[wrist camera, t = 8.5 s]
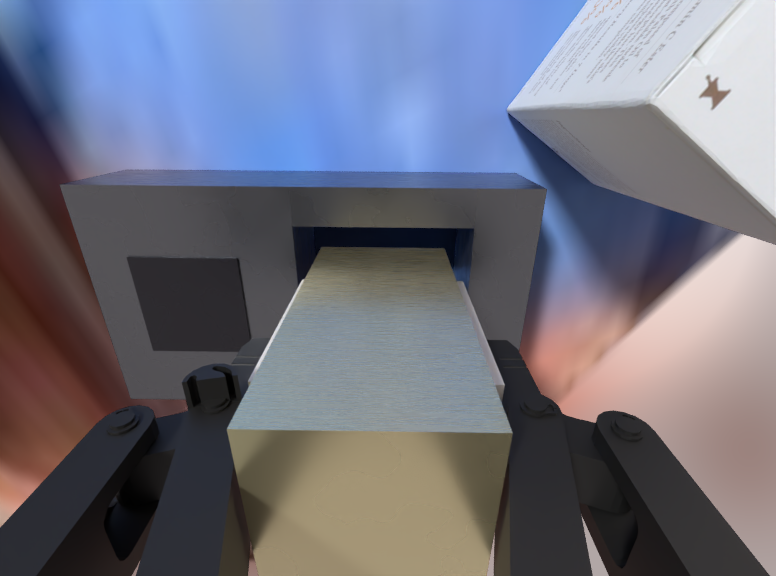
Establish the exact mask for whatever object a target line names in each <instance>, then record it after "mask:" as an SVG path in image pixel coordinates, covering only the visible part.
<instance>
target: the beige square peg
mask: <svg viewBox="0 0 776 576" xmlns="http://www.w3.org/2000/svg"><path fill="white" fill-rule="evenodd" d="M227 433H228V437H229V442H230V447H231V451H232V456H233V461H234V465H235V470H236V474H237V479H238V484H239V488H240V493H241V498H242V502H243V507H244V511H245V516H246V521H247V525H248V530H249V535H250V539H251V544H252V548H253V553H254V558H255V562H256V567H257V571H258V576H487V570H488V565H489V559H490V554H491V548H492V543H493V538H494V532H495V527H496V521H497V516H498V511H499V505H500V500H501V494H502V489H503V483H504V478H505V472H506V467H507V462H508V456H509V451H510V445H511V440H512V434H513V433H512V430H511V427H510V424H509V422H508V419H507V416H506V414H505V411H504V408H503V405H502V403H501V400H500V397H499V395H498V392H497V389H496V387H495V384H494V381H493V378H492V376H491V373H490V370H489V368H488V365H487V362H486V359H485V357H484V354H483V351H482V349H481V346H480V343H479V341H478V338H477V335H476V332H475V330H474V327H473V324H472V322H471V319H470V316H469V314H468V311H467V308H466V305H465V303H464V300H463V297H462V295H461V292H460V289H459V286H458V284H457V281H456V278H455V276H454V273H453V270H452V268H451V265H450V262H449V259H448V257H447V254H446V251H445V249H444V248H383V247H321V249H320V251H319V253H318V255H317V257H316V258H315V260H314V262H313V264H312V266H311V268H310V270H309V272H308V274H307V276H306V278H305V280H304V282H303V283H302V285H301V287H300V289H299V291H298V293H297V295H296V297H295V299H294V301H293V303H292V305H291V307H290V308H289V310H288V312H287V314H286V316H285V318H284V320H283V322H282V324H281V326H280V328H279V330H278V332H277V333H276V335H275V337H274V339H273V341H272V343H271V345H270V347H269V349H268V351H267V353H266V355H265V357H264V358H263V360H262V362H261V364H260V366H259V368H258V370H257V372H256V374H255V376H254V378H253V380H252V382H251V383H250V385H249V387H248V389H247V391H246V393H245V395H244V397H243V399H242V401H241V403H240V405H239V407H238V408H237V410H236V412H235V414H234V416H233V418H232V420H231V422H230V424H229V426H228V428H227Z"/></svg>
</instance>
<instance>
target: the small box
mask: <svg viewBox="0 0 776 576" xmlns="http://www.w3.org/2000/svg"><path fill="white" fill-rule="evenodd" d="M507 112H508V113H509V114H510V115H512V116H513V117H514V118H515V119H517V120H518V121H519V122H520V123H521V124H523V125H524V126H525V127H526V128H527V129H528V130H530V131H531V132H532V133H533V134H534V135H536V136H537V137H538V138H539V139H540V140H542V141H543V142H544V143H545V144H546V145H547V146H549V147H550V148H551V149H552V150H553V151H554V152H556V153H557V154H558V155H559V156H560V157H562V158H563V159H564V160H565V161H566V162H567V163H569V164H570V165H571V166H572V167H573V168H575V169H576V170H577V171H578V172H579V173H581V174H582V175H583V176H584V177H585V178H587V179H588V180H589V181H590V182H591V183H593V184H594V185H597V186H600V187H603V188H606V189H609V190H612V191H615V192H618V193H621V194H624V195H627V196H630V197H633V198H636V199H639V200H642V201H645V202H648V203H651V204H654V205H657V206H660V207H663V208H666V209H669V210H672V211H675V212H678V213H682V214H685V215H688V216H690V217H693V218H697V219H700V220H703V221H706V222H709V223H712V224H714V225H717V226H720V227H723V228H726V229H729V230H732V231H735V232H738V233H741V234H744V235H747V236H750V237H754V238H757V239H760V240H763V241H766V242H769V243H772V244H775V245H776V0H588V1H587V2H586V4H585V5H584V7H583V8H582V9H581V11H580V12H579V13H578V15H577V16H576V17H575V19H574V20H573V21H572V23H571V24H570V25H569V27H568V28H567V29H566V31H565V32H564V33H563V35H562V36H561V37H560V39H559V40H558V41H557V43H556V44H555V45H554V47H553V48H552V49H551V51H550V52H549V53H548V55H547V56H546V57H545V59H544V60H543V62H542V63H541V64H540V66H539V67H538V68H537V70H536V71H535V72H534V74H533V75H532V76H531V78H530V79H529V80H528V82H527V83H526V84H525V86H524V87H523V88H522V90H521V91H520V92H519V94H518V95H517V96H516V97H515V99H514V100H513V101H512V103H511V104H510V105H509V106H508V108H507Z"/></svg>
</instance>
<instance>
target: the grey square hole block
mask: <svg viewBox="0 0 776 576" xmlns="http://www.w3.org/2000/svg"><path fill="white" fill-rule="evenodd" d="M60 188H61V191H62V194H63V197H64V200H65V203H66V206H67V209H68V212H69V215H70V218H71V221H72V224H73V227H74V230H75V233H76V236H77V239H78V242H79V245H80V248H81V251H82V254H83V257H84V260H85V263H86V266H87V269H88V272H89V275H90V278H91V281H92V284H93V287H94V290H95V293H96V296H97V299H98V302H99V305H100V308H101V311H102V314H103V317H104V320H105V323H106V326H107V329H108V332H109V335H110V338H111V341H112V344H113V347H114V350H115V353H116V356H117V359H118V362H119V365H120V368H121V371H122V374H123V377H124V380H125V383H126V386H127V389H128V392H129V395H130V397H131V399H184V400H186V398H185V394H184V390H183V386H182V381H183V380H184V378H185V377H186V376H187V375H188V374H189V373H191V372H192V371H193V370H196V369H198V368H200V367H202V366H206V365H210V364H223V363H224V364H228V365H231V363H232V362H233V360H234V358H236V355H237V354H238V352H239V351H240V349H241V347H242V346H243V345H245V344H246V343H247V342H249V341H250V340H251V339H253V338H271V337H272V335H273V333H274V331H275V330H276V328H277V326H278V324H279V322H280V320H281V318H282V316H283V315H284V313H285V311H286V309H287V307H288V305H289V303H290V302H291V300H292V298H293V296H294V294H295V292H296V290H297V288H298V287H299V285H300V283H301V281H302V279H304V280H305V278H306V276H307V274H308V272H309V270H310V268H311V266H312V264H313V262H314V260H315V258H316V253H315V239H314V227H390V228H457V233H456V245H455V257H454V269H453V273H454V276H455V278H456V281H463V283H464V285H465V288H466V290H467V293H468V295H469V298H470V300H471V303H472V305H473V308H474V310H475V313H476V315H477V318H478V320H479V322H480V325H481V327H482V330H483V332H484V335H485V337H486V340H507V341H509V342H510V343H511V344H512V345H514V346H515V347H516V348H517V349H518V351H519V349H520V343H521V337H522V331H523V325H524V320H525V314H526V308H527V302H528V296H529V291H530V285H531V279H532V273H533V267H534V262H535V256H536V250H537V244H538V238H539V233H540V227H541V221H542V215H543V210H544V204H545V198H546V192H547V189H546V188H544V187H542V186H540V185H538V184H536V183H534V182H532V181H530V180H528V179H526V178H524V177H522V176H520V175H518V174H517V173H439V172H329V171H219V170H123V171H118V172H114V173H109V174H105V175H100V176H96V177H91V178H87V179H82V180H78V181H73V182H69V183H64V184H60Z"/></svg>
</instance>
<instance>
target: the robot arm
mask: <svg viewBox="0 0 776 576" xmlns="http://www.w3.org/2000/svg"><path fill="white" fill-rule="evenodd" d="M303 282H304V279H302V281H301V283H300V285H299V287H298V288H297V290H296V292H295V294H294V296H293V298H292V300H291V302H290V303H289V305H288V307H287V309H286V311H285V313H284V315H283V316H282V318H281V320H280V322H279V324H278V326H277V328H276V330H275V331H274V333H273V335H272V337H271V338H253V339H251V340H250V341H249V342H247V343H246V344H245V345H243V346H242V347H241V349H240V351H239V352H238V354H237V355H236V358H234V360H233V362H232V363H231V365H228V364H224V363H223V364H210V365H206V366H202V367H200V368H198V369H196V370H193V371H192V372H191V373H189V374H188V375H187V376H186V377H185V378H184V380H183V381H182V386H183V390H184V394H185V398H186V402H187V405H188V411H186V412H183V413H179V414H174V415H170V416H165V417H160V418H155V415H154V412H153V410H152V409H150V408H149V407H146V406H140V405H138V406H129V407H126V408H123V409H120V410H116V411H115V412H113V413H111V414H109V415H107V416H105V417H104V418H103V419H102V420H101V421H99V422H98V423H97V424H96V425H95V426H94V427H93V428H92V429H91V430H90V431H89V433H88V434H87V435H86V436H85V437H84V438H83V439H82V440H81V441H80V442H79V443H78V444H77V445H76V447H75V448H74V449H73V450H72V451H71V452H70V453H69V454H68V455H67V456H66V457H65V458H64V460H63V461H62V462H61V463H60V464H59V465H58V466H57V467H56V468H55V469H54V470H53V471H52V472H51V474H50V475H49V476H48V477H47V478H46V479H45V480H44V481H43V482H42V483H41V484H40V485H39V487H38V488H37V489H36V490H35V491H34V492H33V493H32V494H31V495H30V496H29V497H28V498H27V499H26V501H25V502H24V503H23V504H22V505H21V506H20V507H19V508H18V509H17V510H16V511H15V512H14V514H13V515H12V516H11V517H10V518H9V519H8V520H7V521H6V522H5V523H4V524H3V525H2V526H1V528H0V576H132V574H133V572H134V570H135V569H136V567H137V565H138V563H139V561H140V560H141V561H140V564H139V567H138V570H137V574H136V576H248V568H249V554H250V541H251V539H250V535H249V530H248V525H247V521H246V516H245V511H244V507H243V502H242V498H241V493H240V488H239V484H238V479H237V474H236V470H235V465H234V461H233V456H232V451H231V447H230V442H229V437H228V433H227V428H228V426H229V424H230V422H231V420H232V418H233V416H234V414H235V412H236V410H237V408H238V407H239V405H240V403H241V401H242V399H243V397H244V395H245V393H246V391H247V389H248V387H249V385H250V383H251V382H252V380H253V378H254V376H255V374H256V372H257V370H258V368H259V366H260V364H261V362H262V360H263V358H264V357H265V355H266V353H267V351H268V349H269V347H270V345H271V343H272V341H273V339H274V337H275V335H276V333H277V332H278V330H279V328H280V326H281V324H282V322H283V320H284V318H285V316H286V314H287V312H288V310H289V308H290V307H291V305H292V303H293V301H294V299H295V297H296V295H297V293H298V291H299V289H300V287H301V285H302V283H303ZM457 284H458V286H459V289H460V292H461V295H462V297H463V300H464V303H465V305H466V308H467V311H468V314H469V316H470V319H471V322H472V324H473V327H474V330H475V332H476V335H477V338H478V341H479V343H480V346H481V349H482V351H483V354H484V357H485V359H486V362H487V365H488V368H489V370H490V373H491V376H492V378H493V381H494V384H495V387H496V389H497V392H498V395H499V397H500V400H501V403H502V405H503V408H504V411H505V414H506V416H507V419H508V422H509V424H510V427H511V430H512V433H513V434H512V440H511V445H510V451H509V456H508V462H507V467H506V472H505V478H504V483H503V489H502V494H501V500H500V505H499V511H498V516H497V521H496V527H495V547H494V576H592V570H591V564H590V559H589V554H588V549H587V543H586V538H585V533H584V527H583V522H582V517H583V519H584V521H585V523H586V526H587V528H588V530H589V532H590V535H591V537H592V539H593V541H594V543H595V546H596V548H597V550H598V552H599V555H600V557H601V559H602V561H603V563H604V565H605V568H606V570H607V572H608V574H609V576H770V575H769V574H768V573H767V572H766V570H765V569H764V568H763V567H762V565H761V564H760V563H759V562H758V561H757V559H756V558H755V557H754V555H753V554H752V553H751V552H750V550H749V549H748V548H747V547H746V545H745V544H744V543H743V542H742V540H741V539H740V538H739V537H738V535H737V534H736V533H735V531H734V530H733V529H732V528H731V526H730V525H729V524H728V523H727V522H726V520H725V519H724V518H723V517H722V515H721V514H720V513H719V511H718V510H717V509H716V508H715V506H714V505H713V504H712V503H711V501H710V500H709V499H708V498H707V496H706V495H705V494H704V493H703V491H702V490H701V489H700V488H699V486H698V485H697V484H696V482H695V481H694V480H693V479H692V477H691V476H690V475H689V474H688V473H687V471H686V470H685V469H684V467H683V466H682V465H681V464H680V462H679V461H678V460H677V459H676V457H675V456H674V455H673V454H672V452H671V451H670V450H669V449H668V447H667V446H666V445H665V444H664V442H663V441H662V440H661V438H660V437H659V436H658V435H657V433H656V432H655V431H654V430H653V429H652V428H651V427H650V426H649V425H648V424H647V423H646V422H644V421H642V420H641V419H639V418H637V417H636V416H633V415H630V414H627V413H624V412H618V411H606V412H603V413H601V414H600V415H598V417H597V421H596V423H593V422H589V421H585V420H580V419H576V418H573V417H569V416H566V415H564V414H562V412H561V410H560V408H559V406H558V405H557V404H556V403H555V402H553V401H552V400H551V399H549V398H547V397H545V396H544V395H541V393H540V391H539V389H538V388H537V386H536V384H535V382H534V380H533V378H532V376H531V374H530V372H529V370H528V368H526V364H525V362H524V360H522V357H521V355H520V353H519V351H518V349H517V348H516V347H515V346H514V345H512V344H511V343H510V342H509V341H507V340H486V337H485V335H484V332H483V330H482V327H481V325H480V322H479V320H478V318H477V315H476V313H475V310H474V308H473V305H472V303H471V300H470V298H469V295H468V293H467V290H466V288H465V285H464V283H463V281H457ZM581 515H582V517H581Z"/></svg>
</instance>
